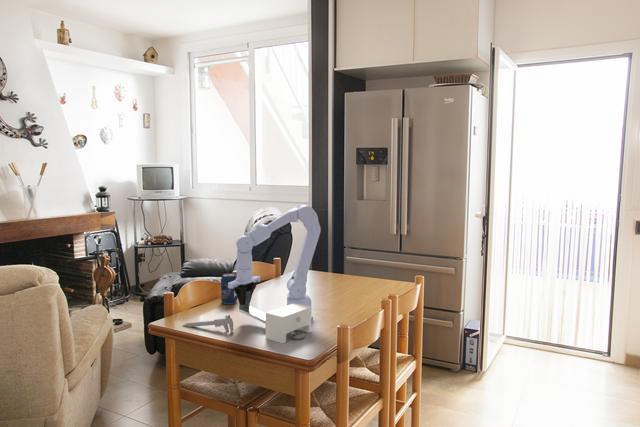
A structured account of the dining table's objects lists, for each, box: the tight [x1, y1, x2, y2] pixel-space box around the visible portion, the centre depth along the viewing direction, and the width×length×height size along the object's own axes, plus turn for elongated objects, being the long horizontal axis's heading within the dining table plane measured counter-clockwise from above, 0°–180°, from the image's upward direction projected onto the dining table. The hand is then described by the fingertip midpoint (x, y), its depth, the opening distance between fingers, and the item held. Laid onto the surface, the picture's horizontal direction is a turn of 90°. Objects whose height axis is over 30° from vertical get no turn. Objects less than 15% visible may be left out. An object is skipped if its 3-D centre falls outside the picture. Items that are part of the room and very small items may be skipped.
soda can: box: [220, 272, 238, 305], centre depth 212 cm, size 7×7×12 cm
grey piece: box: [238, 289, 266, 325], centre depth 181 cm, size 5×16×8 cm, turn 52°
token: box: [289, 330, 306, 341], centre depth 170 cm, size 5×5×2 cm
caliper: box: [182, 314, 234, 333], centre depth 178 cm, size 20×1×6 cm, turn 71°
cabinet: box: [265, 303, 312, 344], centre depth 172 cm, size 15×9×9 cm, turn 142°
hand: (244, 303), depth 185 cm, fingers closed on grey piece, 2 cm apart
